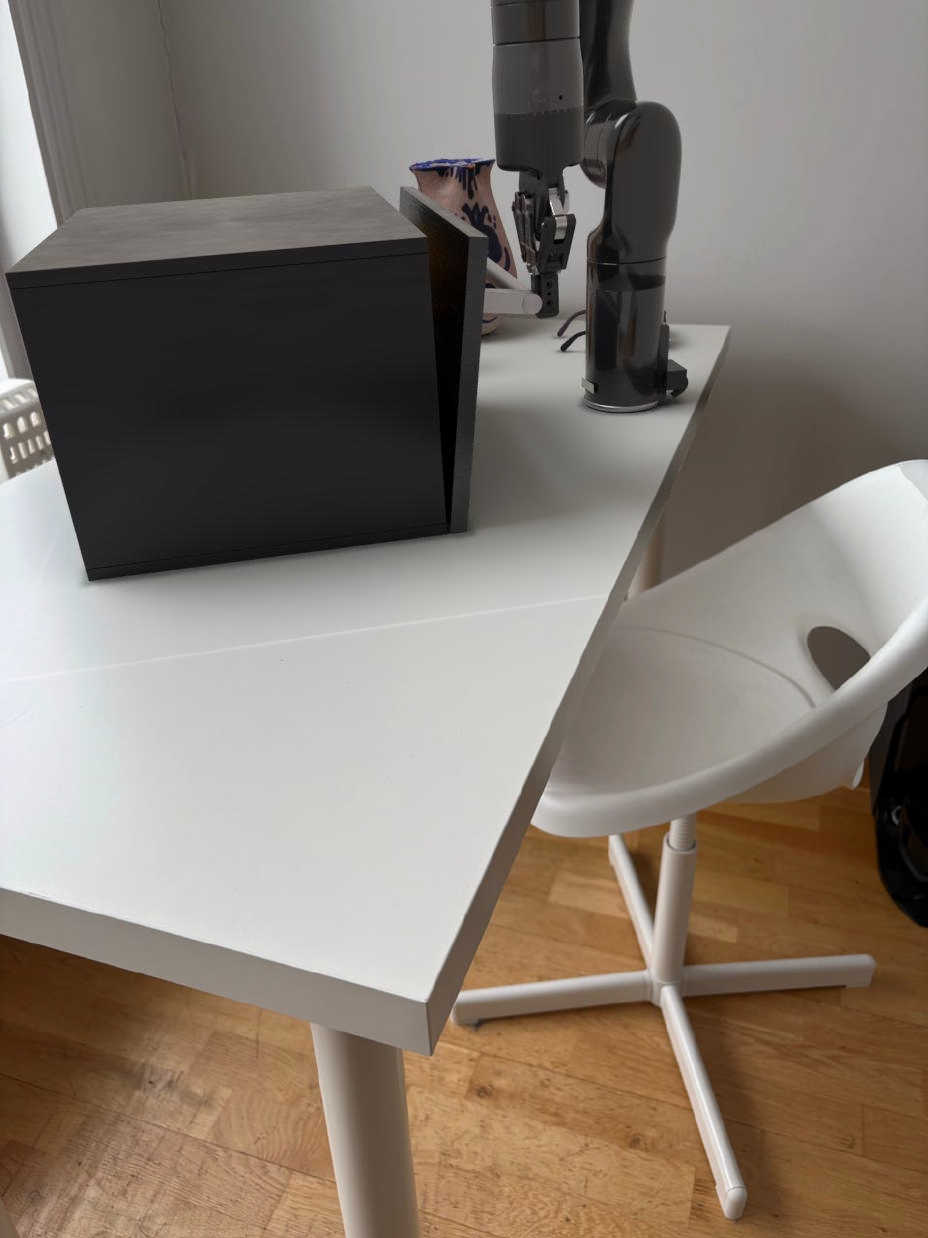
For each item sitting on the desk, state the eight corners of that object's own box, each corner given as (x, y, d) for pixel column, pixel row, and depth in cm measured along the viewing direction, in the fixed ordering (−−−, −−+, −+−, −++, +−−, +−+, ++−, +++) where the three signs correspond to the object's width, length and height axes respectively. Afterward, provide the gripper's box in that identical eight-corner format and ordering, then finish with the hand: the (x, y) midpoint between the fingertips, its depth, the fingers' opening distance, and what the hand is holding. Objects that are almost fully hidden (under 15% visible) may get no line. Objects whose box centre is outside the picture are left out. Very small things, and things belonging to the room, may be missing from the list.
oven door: (454, 406, 126) (468, 189, 114) (533, 531, 92) (565, 240, 79) (392, 405, 124) (400, 186, 112) (450, 532, 90) (469, 236, 78)
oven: (390, 407, 124) (370, 185, 112) (447, 535, 90) (427, 236, 77) (132, 436, 120) (80, 208, 107) (88, 582, 86) (4, 272, 73)
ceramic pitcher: (439, 352, 147) (427, 169, 134) (383, 326, 163) (368, 161, 151) (539, 333, 153) (536, 158, 141) (475, 310, 170) (468, 151, 158)
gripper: (606, 102, 76) (607, 327, 85) (559, 97, 88) (564, 296, 96) (513, 112, 75) (524, 338, 84) (477, 105, 87) (490, 305, 95)
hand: (545, 315), depth 90 cm, fingers closed
